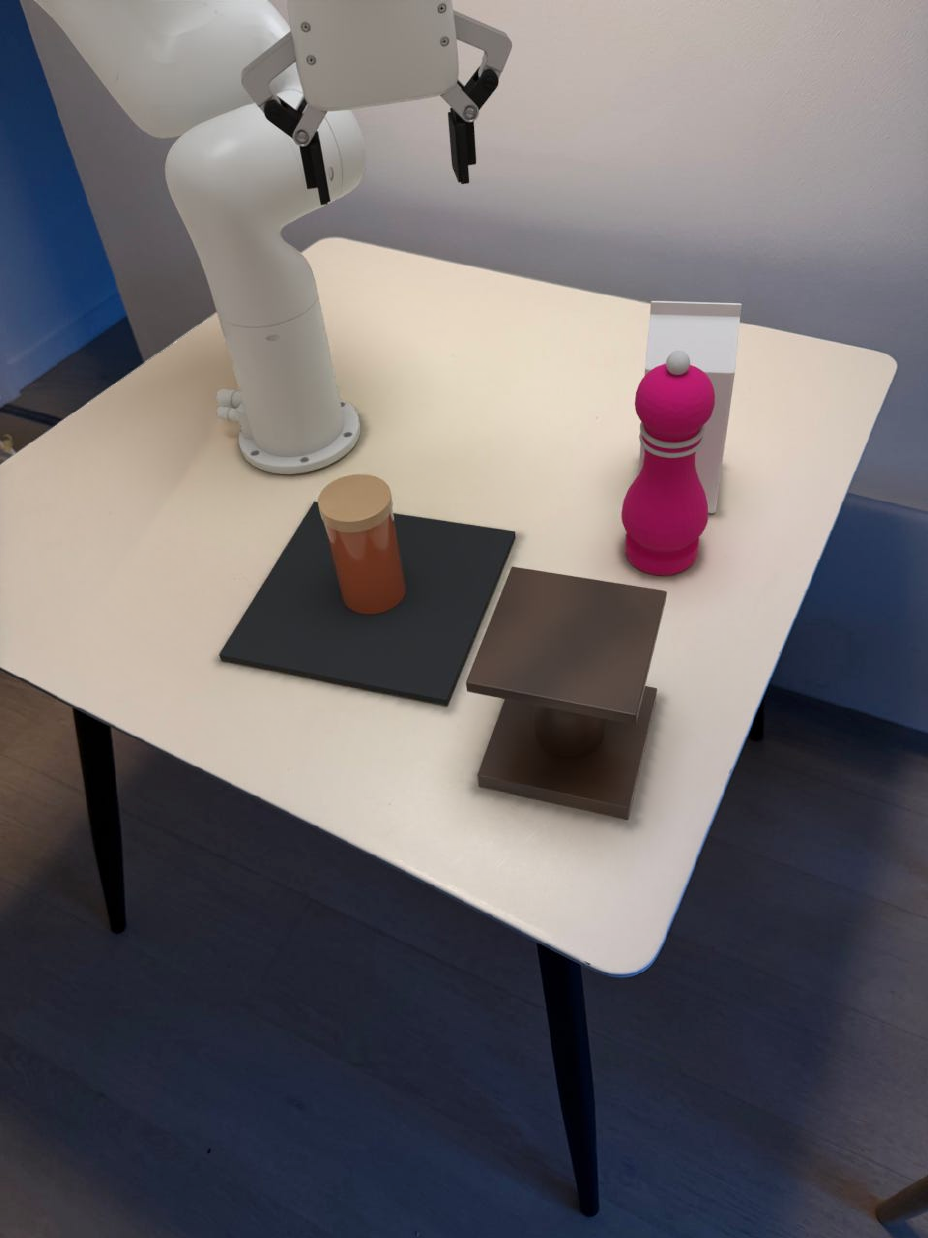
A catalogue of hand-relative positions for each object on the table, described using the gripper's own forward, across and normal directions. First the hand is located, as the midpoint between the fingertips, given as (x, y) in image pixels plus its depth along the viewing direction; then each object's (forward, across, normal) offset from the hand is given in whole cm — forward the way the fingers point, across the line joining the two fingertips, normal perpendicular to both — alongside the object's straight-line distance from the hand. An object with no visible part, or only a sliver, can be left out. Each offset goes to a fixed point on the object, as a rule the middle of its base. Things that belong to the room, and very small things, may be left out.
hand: (392, 186), depth 69 cm
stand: (+31, -6, +27) cm, 42 cm away
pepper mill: (+32, -19, +9) cm, 38 cm away
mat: (+32, +7, +8) cm, 33 cm away
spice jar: (+31, +6, +8) cm, 33 cm away
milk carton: (+32, -23, +1) cm, 39 cm away
